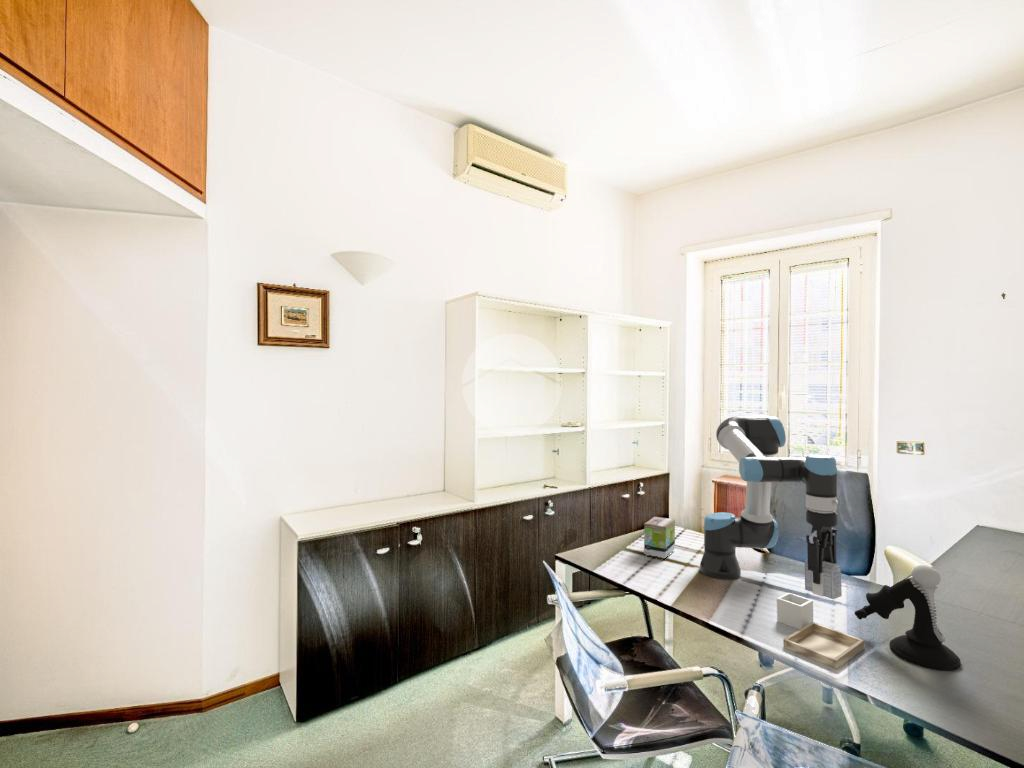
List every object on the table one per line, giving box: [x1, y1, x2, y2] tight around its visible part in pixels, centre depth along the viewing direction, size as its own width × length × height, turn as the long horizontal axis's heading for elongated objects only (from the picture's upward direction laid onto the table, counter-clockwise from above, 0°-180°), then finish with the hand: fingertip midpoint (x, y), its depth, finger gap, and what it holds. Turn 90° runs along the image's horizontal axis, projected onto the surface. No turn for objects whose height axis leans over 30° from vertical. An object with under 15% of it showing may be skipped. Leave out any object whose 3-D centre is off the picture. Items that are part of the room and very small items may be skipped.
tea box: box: [643, 516, 676, 559], centre depth 221 cm, size 15×10×15 cm
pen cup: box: [776, 592, 814, 630], centre depth 154 cm, size 7×7×8 cm
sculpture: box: [854, 564, 962, 672], centre depth 139 cm, size 15×24×25 cm, turn 41°
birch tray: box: [783, 621, 865, 670], centre depth 139 cm, size 14×18×3 cm
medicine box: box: [804, 559, 842, 600], centre depth 139 cm, size 8×4×9 cm, turn 28°
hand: (822, 592), depth 139 cm, fingers closed on medicine box, 5 cm apart
